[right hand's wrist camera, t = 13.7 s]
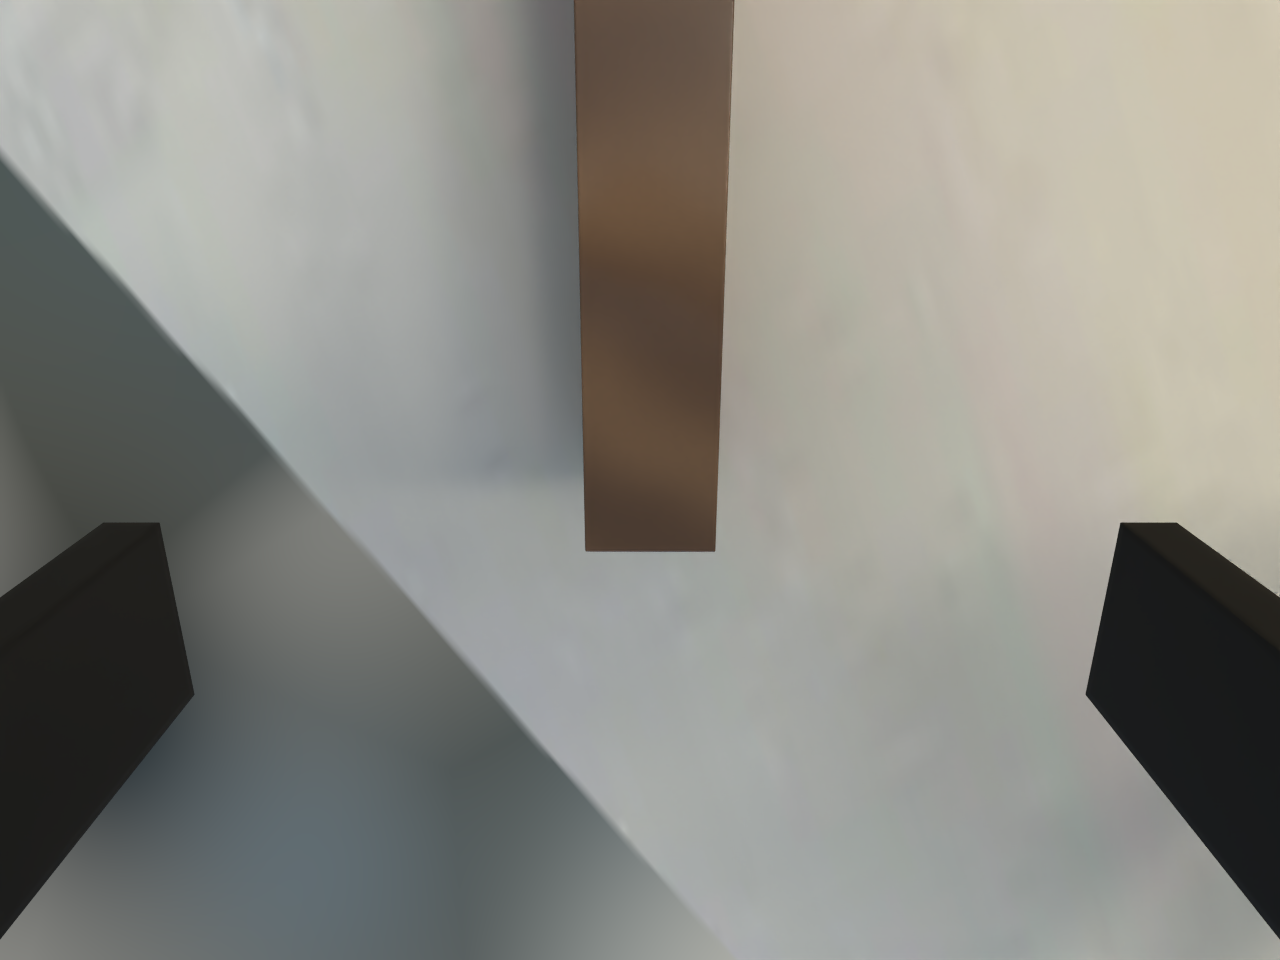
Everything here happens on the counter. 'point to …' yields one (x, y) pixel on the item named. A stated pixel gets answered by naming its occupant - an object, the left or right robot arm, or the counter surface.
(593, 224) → the post
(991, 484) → the counter surface
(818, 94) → the counter surface
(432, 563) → the counter surface
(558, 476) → the counter surface
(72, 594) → the right robot arm
